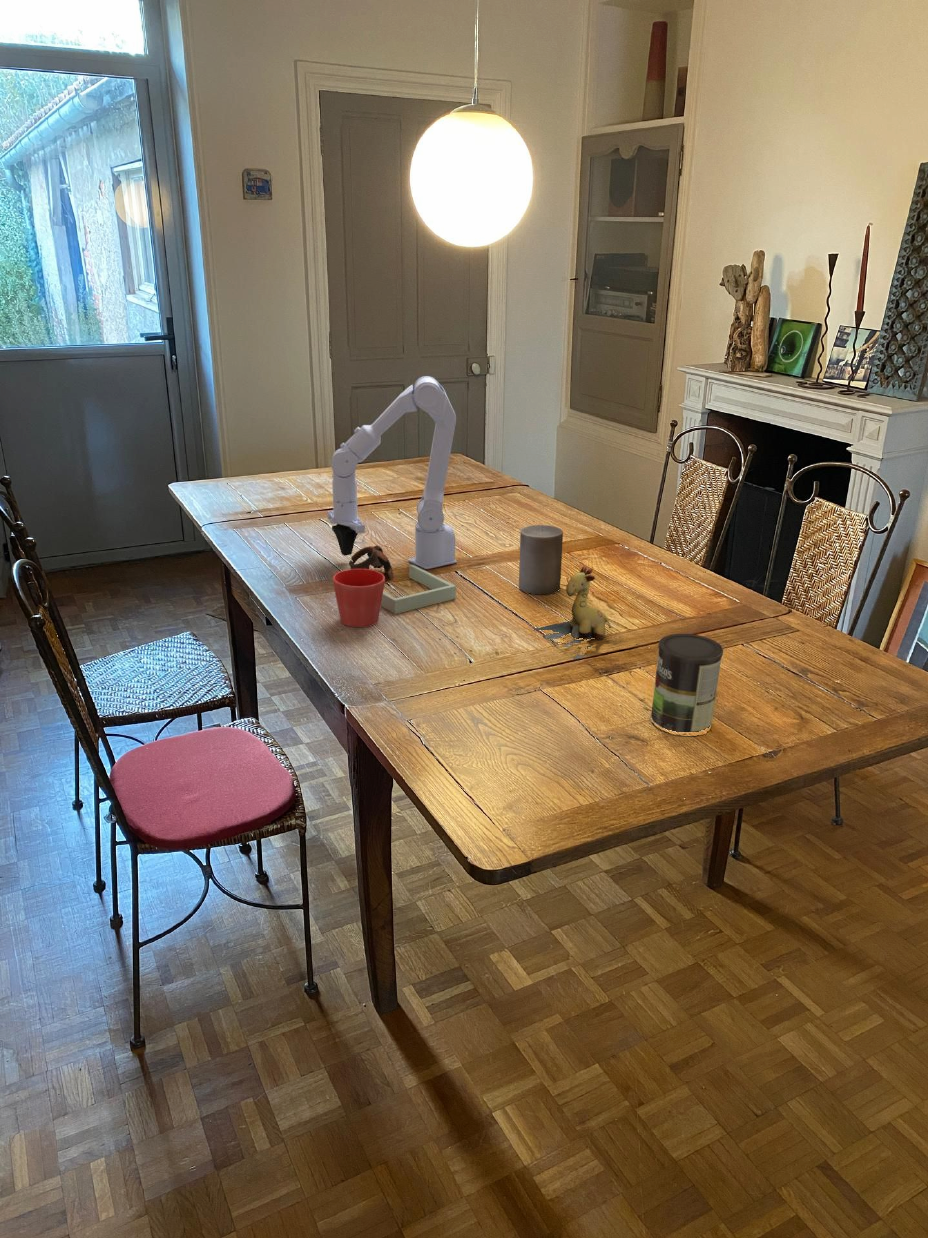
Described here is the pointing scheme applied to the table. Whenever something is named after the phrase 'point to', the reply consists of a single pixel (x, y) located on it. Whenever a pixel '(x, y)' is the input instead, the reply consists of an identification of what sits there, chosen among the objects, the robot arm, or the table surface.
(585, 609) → the stuffed giraffe
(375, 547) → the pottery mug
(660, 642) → the coffee can
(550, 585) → the pillar candle
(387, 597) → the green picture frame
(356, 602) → the flower pot
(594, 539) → the table surface
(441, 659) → the table surface
